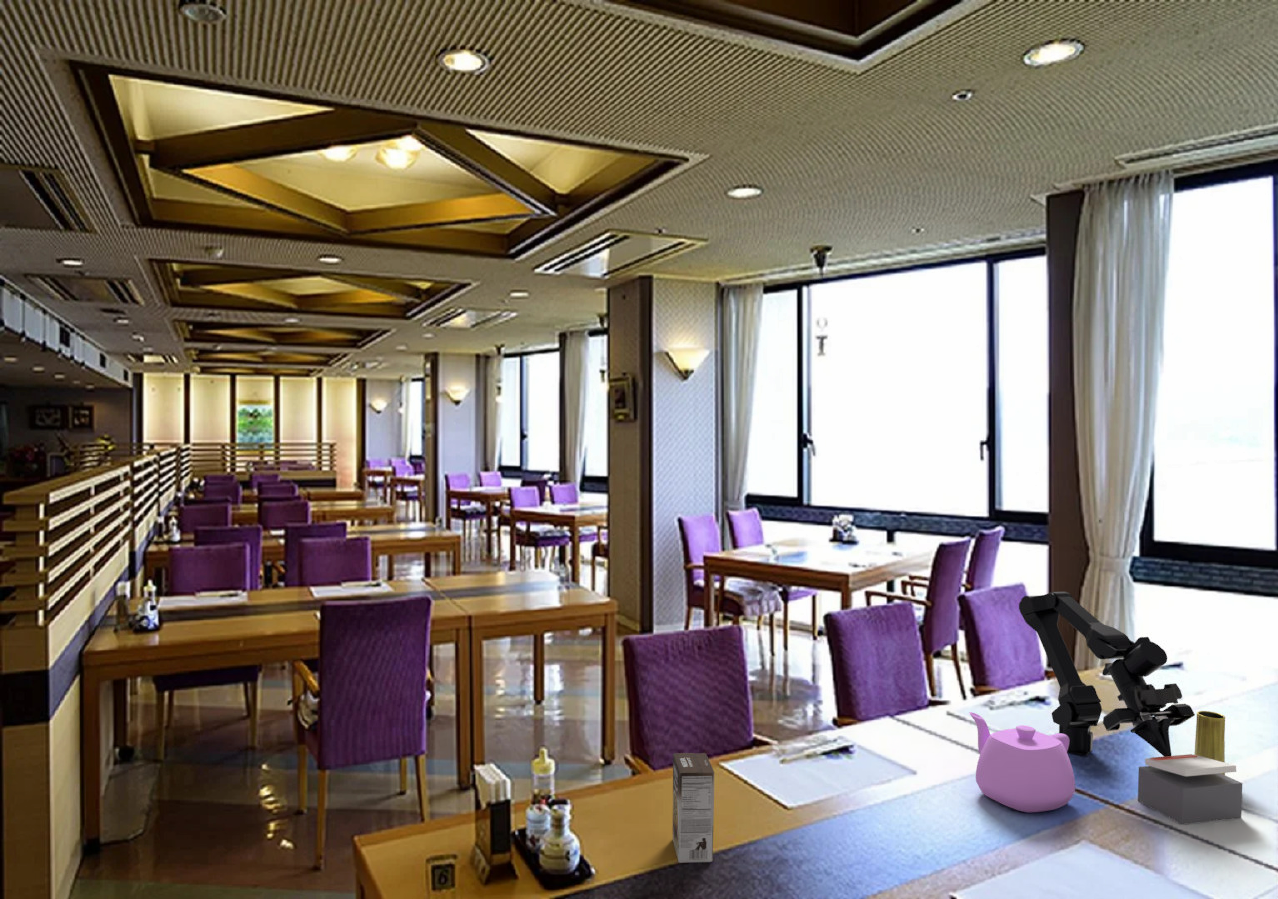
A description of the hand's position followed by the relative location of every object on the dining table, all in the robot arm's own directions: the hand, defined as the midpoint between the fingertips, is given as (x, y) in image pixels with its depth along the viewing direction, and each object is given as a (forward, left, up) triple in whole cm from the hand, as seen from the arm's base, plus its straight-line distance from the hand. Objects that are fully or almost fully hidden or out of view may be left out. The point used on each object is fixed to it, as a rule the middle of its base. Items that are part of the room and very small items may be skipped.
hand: (1168, 756), depth 180 cm
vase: (+6, +18, -9) cm, 21 cm away
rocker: (+4, -3, 0) cm, 5 cm away
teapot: (-24, -19, -9) cm, 32 cm away
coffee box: (-65, -80, -9) cm, 104 cm away
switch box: (+4, -3, -9) cm, 10 cm away
